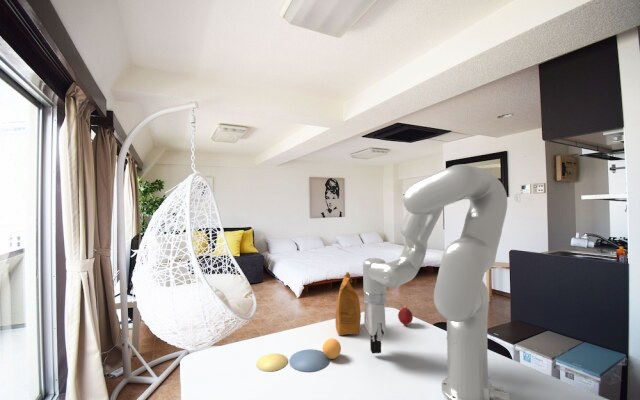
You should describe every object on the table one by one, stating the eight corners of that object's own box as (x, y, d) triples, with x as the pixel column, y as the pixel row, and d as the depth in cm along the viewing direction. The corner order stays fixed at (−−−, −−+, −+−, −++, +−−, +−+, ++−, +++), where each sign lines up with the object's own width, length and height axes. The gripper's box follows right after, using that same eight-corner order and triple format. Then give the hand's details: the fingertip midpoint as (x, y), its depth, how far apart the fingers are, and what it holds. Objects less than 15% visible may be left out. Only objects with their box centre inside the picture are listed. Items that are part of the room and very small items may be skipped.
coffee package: (359, 323, 122) (358, 271, 122) (361, 337, 109) (360, 279, 110) (336, 323, 123) (335, 271, 123) (335, 336, 110) (334, 278, 110)
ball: (336, 361, 96) (346, 346, 97) (329, 364, 91) (340, 349, 91) (323, 347, 100) (334, 333, 100) (316, 350, 94) (327, 335, 95)
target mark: (336, 356, 96) (336, 355, 96) (316, 376, 85) (316, 376, 85) (303, 346, 103) (303, 346, 103) (281, 364, 92) (281, 363, 92)
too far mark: (293, 359, 95) (293, 358, 95) (274, 375, 86) (274, 374, 86) (270, 351, 100) (270, 350, 100) (249, 365, 91) (249, 365, 91)
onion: (415, 326, 118) (415, 307, 118) (404, 329, 115) (403, 309, 115) (406, 321, 123) (406, 302, 123) (395, 323, 121) (395, 304, 121)
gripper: (359, 290, 103) (359, 341, 103) (369, 305, 88) (370, 365, 88) (379, 289, 104) (380, 340, 103) (393, 304, 89) (394, 364, 89)
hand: (375, 351), depth 96 cm, fingers closed
